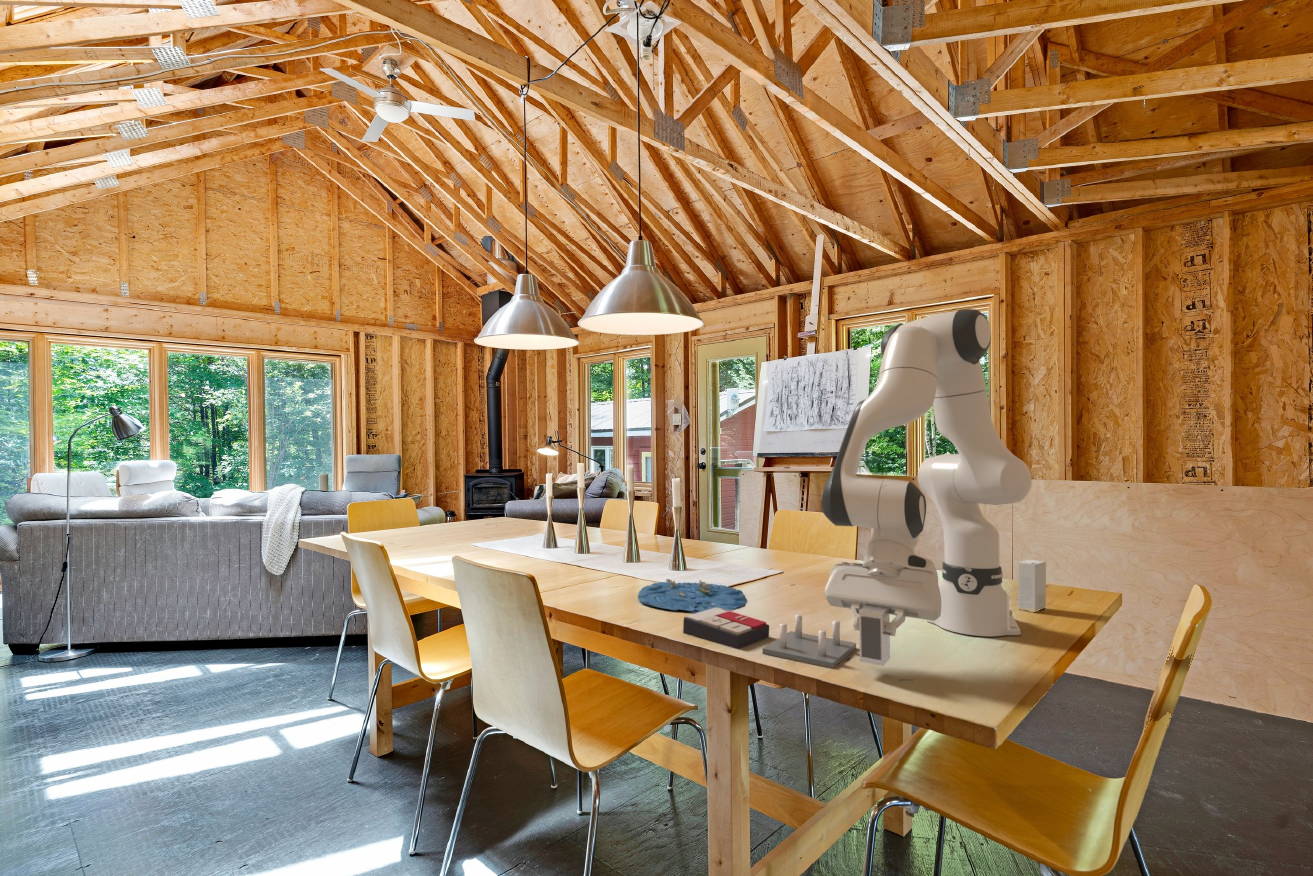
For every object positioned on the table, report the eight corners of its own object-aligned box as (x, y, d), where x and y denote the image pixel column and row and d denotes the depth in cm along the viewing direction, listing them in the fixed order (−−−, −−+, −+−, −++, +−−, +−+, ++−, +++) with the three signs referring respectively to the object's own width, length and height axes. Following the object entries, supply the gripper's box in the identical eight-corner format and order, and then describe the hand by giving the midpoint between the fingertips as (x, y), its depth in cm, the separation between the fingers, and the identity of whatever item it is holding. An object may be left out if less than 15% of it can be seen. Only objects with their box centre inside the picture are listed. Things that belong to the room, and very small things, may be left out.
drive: (867, 654, 112) (866, 604, 112) (890, 658, 110) (889, 608, 110) (859, 662, 108) (858, 610, 108) (882, 666, 106) (881, 614, 106)
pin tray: (790, 635, 132) (790, 610, 132) (856, 648, 124) (856, 620, 124) (762, 653, 120) (762, 625, 120) (832, 668, 112) (832, 638, 112)
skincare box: (1027, 606, 157) (1027, 558, 157) (1047, 609, 153) (1046, 561, 153) (1016, 609, 153) (1016, 561, 153) (1036, 613, 150) (1036, 564, 150)
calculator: (738, 632, 123) (682, 613, 133) (737, 654, 123) (682, 633, 134) (770, 621, 131) (715, 604, 141) (769, 641, 131) (714, 623, 141)
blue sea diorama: (771, 604, 165) (772, 584, 165) (700, 626, 143) (701, 603, 143) (688, 582, 185) (689, 565, 185) (615, 598, 163) (615, 579, 163)
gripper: (829, 551, 121) (812, 613, 113) (942, 562, 109) (932, 631, 101) (837, 570, 124) (821, 631, 116) (947, 582, 113) (937, 651, 105)
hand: (873, 631), depth 109 cm, fingers closed on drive, 4 cm apart
